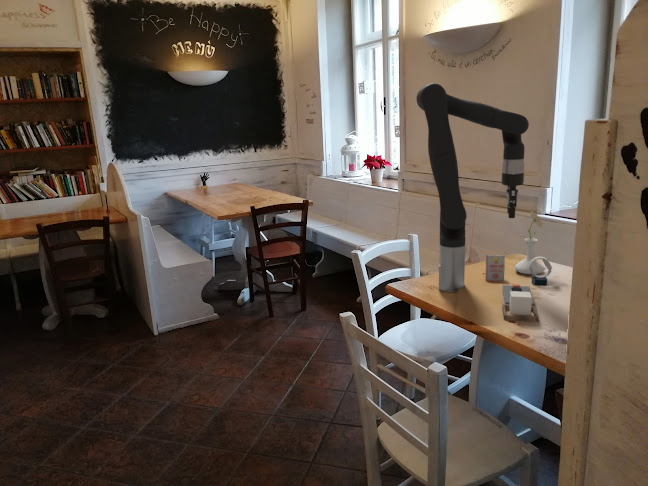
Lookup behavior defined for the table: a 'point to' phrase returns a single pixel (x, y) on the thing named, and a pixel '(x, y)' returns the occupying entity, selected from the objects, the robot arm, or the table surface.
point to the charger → (520, 303)
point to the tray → (520, 317)
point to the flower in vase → (530, 252)
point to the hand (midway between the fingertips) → (511, 215)
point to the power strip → (514, 287)
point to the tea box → (495, 267)
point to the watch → (540, 279)
